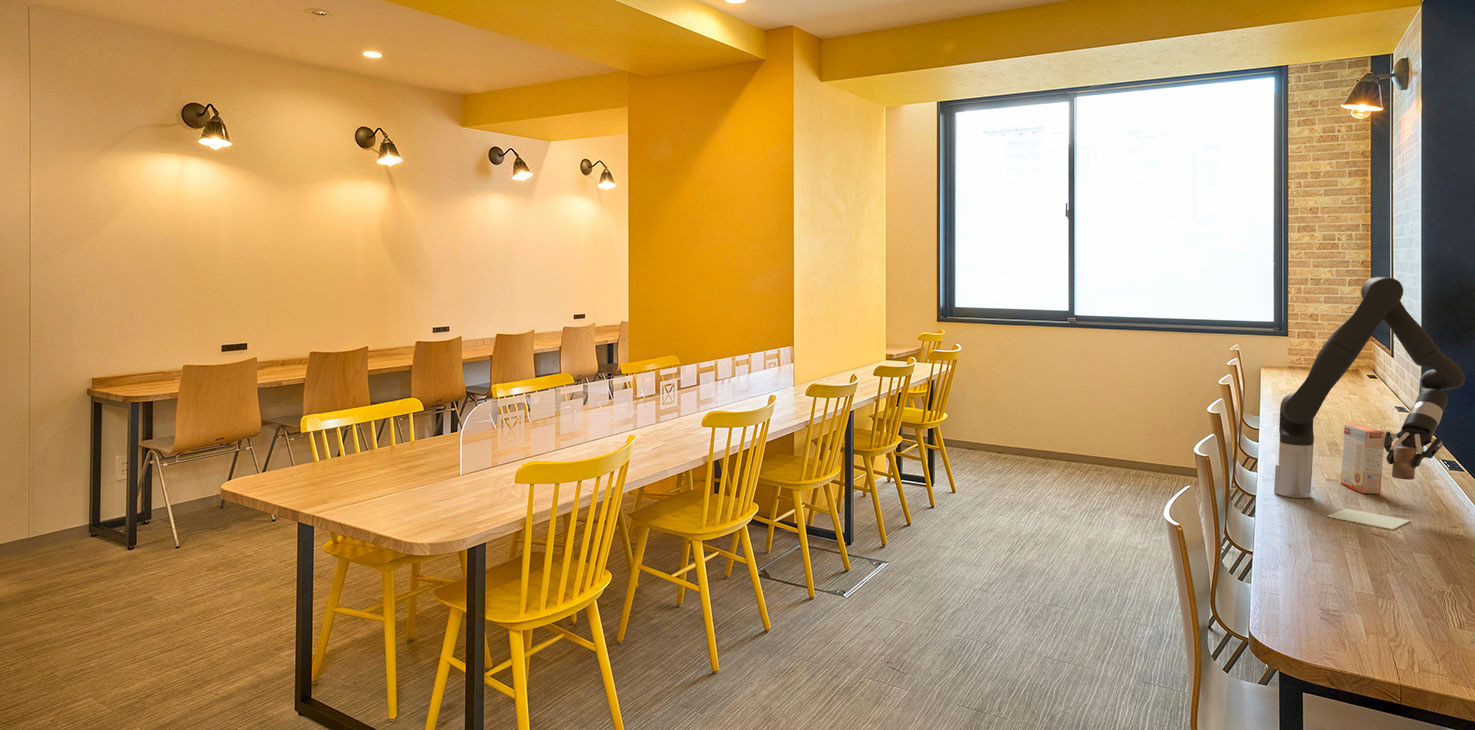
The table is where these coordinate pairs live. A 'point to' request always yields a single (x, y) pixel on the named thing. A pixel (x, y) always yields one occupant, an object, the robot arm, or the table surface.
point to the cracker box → (1362, 458)
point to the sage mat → (1369, 519)
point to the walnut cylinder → (1403, 462)
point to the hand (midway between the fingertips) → (1401, 464)
